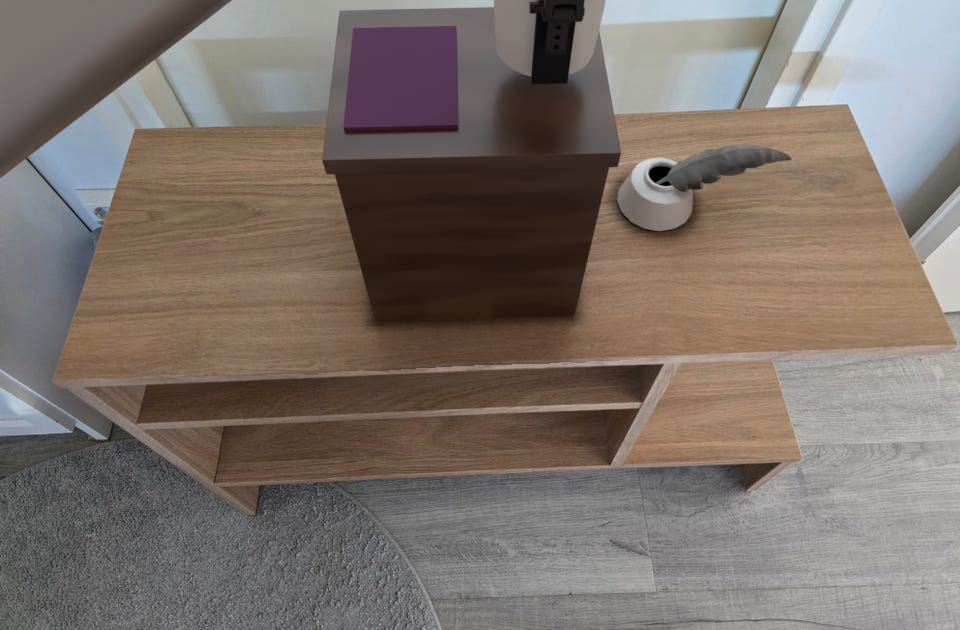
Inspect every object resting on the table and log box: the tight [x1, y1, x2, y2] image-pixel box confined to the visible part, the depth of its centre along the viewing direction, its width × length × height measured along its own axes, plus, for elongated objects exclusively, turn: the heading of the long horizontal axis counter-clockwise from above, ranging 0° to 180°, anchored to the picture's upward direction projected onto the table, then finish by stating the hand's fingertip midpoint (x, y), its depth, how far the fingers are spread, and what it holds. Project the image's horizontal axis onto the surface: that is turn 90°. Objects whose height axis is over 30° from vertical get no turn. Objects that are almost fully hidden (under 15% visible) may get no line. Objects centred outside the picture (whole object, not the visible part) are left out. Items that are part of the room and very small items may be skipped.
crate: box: [321, 6, 622, 323], centre depth 68 cm, size 18×23×26 cm
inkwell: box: [616, 144, 793, 232], centre depth 79 cm, size 9×18×10 cm, turn 90°
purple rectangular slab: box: [343, 26, 458, 131], centre depth 56 cm, size 12×9×1 cm
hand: (544, 40), depth 54 cm, fingers closed on cup, 8 cm apart
